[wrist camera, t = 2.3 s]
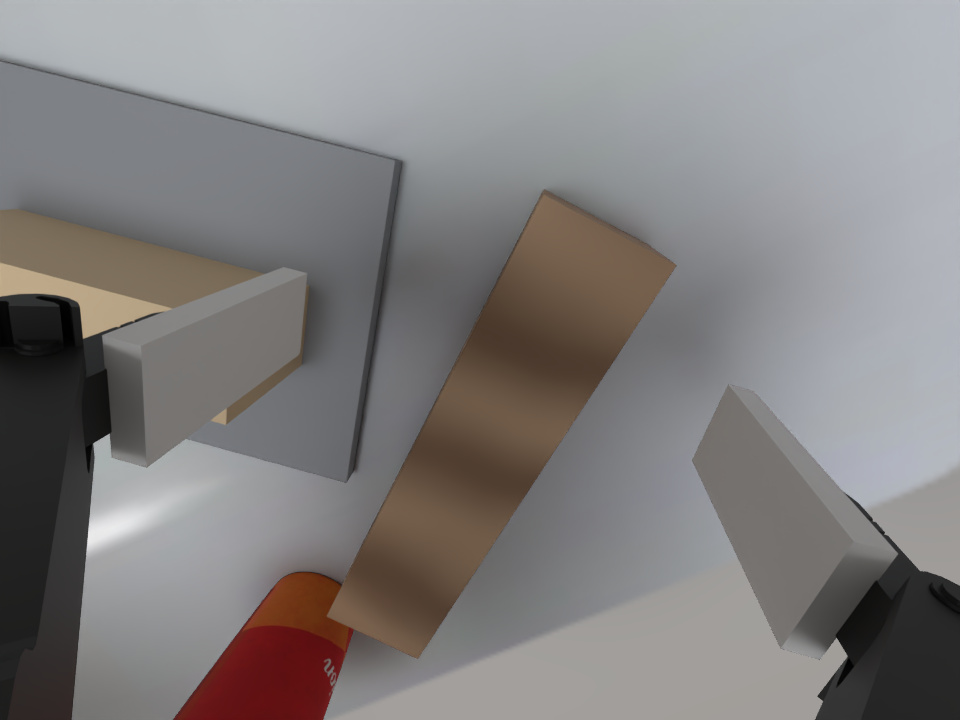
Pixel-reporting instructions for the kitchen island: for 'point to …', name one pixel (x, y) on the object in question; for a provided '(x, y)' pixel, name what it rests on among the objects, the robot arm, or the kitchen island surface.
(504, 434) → the walnut bar
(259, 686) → the paper cup
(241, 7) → the kitchen island surface
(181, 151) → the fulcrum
